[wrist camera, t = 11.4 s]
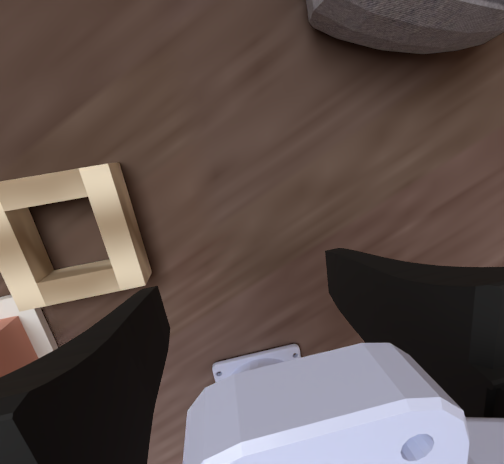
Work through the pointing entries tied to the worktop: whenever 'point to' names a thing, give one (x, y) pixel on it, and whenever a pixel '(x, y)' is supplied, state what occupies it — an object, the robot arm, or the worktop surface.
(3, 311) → the mat
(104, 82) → the worktop surface
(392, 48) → the grey rounded bag
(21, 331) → the peg
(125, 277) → the pocket holder
